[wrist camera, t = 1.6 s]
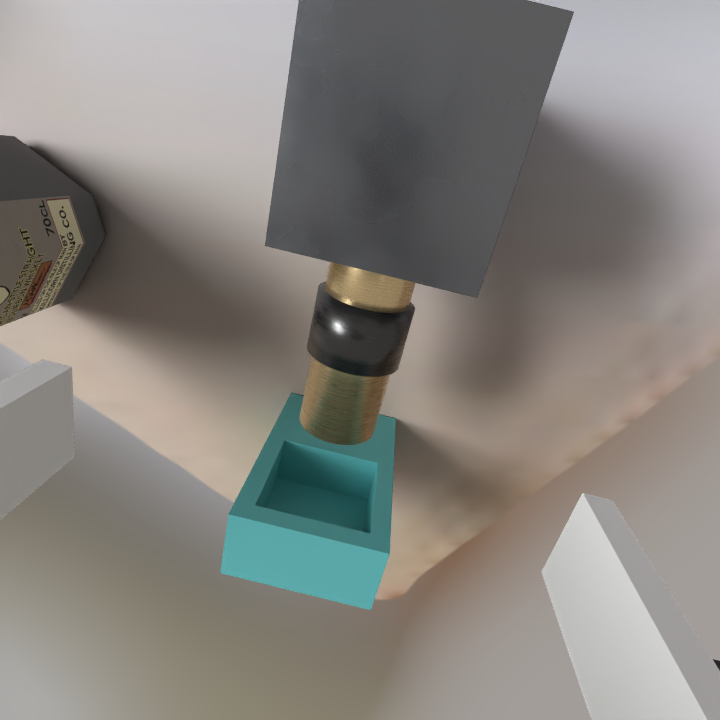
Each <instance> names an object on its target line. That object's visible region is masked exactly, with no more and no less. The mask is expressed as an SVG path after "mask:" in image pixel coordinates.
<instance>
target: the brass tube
mask: <svg viewBox="0 0 720 720" xmlns="http://www.w3.org/2000/svg"><path fill="white" fill-rule="evenodd" d="M414 286H415V282H410V281H406V280H402V279H398V278H394V277H390V276H386V275H382V274H378V273H374V272H370V271H366V270H362V269H358V268H353V267H349V266H345V265H341V264H337V263H333V262H330V265H329V270H328V275H327V280H326V282H323V283H321V284H320V285H319V287H318V292H317V298H316V303H315V308H314V313H313V318H312V324H311V329H310V334H309V339H308V345H307V349H308V352H309V353H310V354H311V361H310V366H309V371H308V376H307V382H306V387H305V392H304V397H303V402H302V407H301V412H300V422H301V424H302V426H303V427H304V429H305V430H306V431H307V432H309V433H310V434H311V435H313V436H315V437H316V438H318V439H320V440H323V441H326V442H329V443H333V444H338V445H357V444H361V443H364V442H366V441H368V440H369V439H370V438H371V437H372V436H373V434H374V430H375V426H376V423H377V419H378V416H379V412H380V408H381V405H382V401H383V398H384V394H385V391H386V387H387V383H388V380H389V376H390V374H392V373H394V372H395V371H396V370H397V369H398V367H399V363H400V360H401V356H402V353H403V349H404V346H405V342H406V339H407V335H408V332H409V328H410V325H411V321H412V318H413V314H414V311H415V307H414V305H413V304H412V303H411V302H410V301H411V297H412V294H413V290H414Z"/></svg>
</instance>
